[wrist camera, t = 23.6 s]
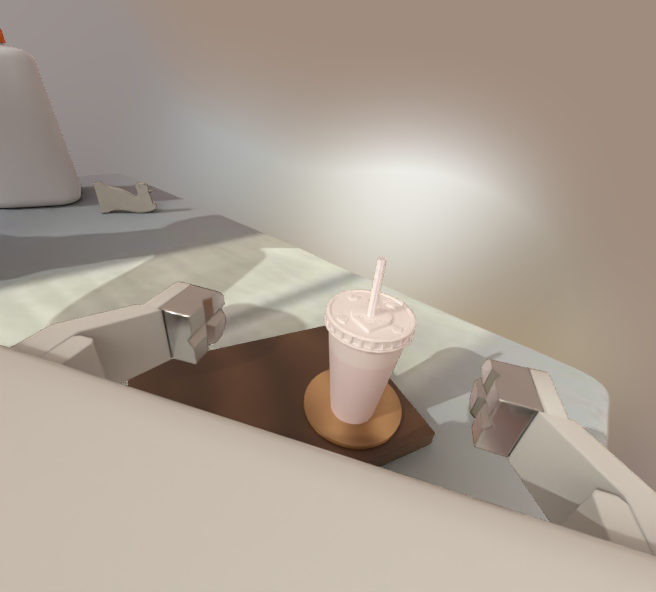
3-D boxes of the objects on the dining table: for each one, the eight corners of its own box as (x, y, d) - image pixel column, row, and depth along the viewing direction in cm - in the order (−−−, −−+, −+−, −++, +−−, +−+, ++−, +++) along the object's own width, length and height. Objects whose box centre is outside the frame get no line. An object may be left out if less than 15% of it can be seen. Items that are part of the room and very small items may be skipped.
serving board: (131, 578, 19) (123, 564, 18) (131, 379, 30) (127, 364, 29) (430, 444, 28) (436, 429, 27) (341, 331, 40) (343, 318, 39)
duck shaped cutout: (103, 211, 65) (159, 210, 68) (101, 213, 64) (159, 212, 67) (95, 181, 62) (154, 182, 65) (93, 183, 61) (153, 183, 64)
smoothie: (306, 429, 26) (322, 268, 18) (322, 371, 31) (339, 229, 24) (389, 447, 25) (440, 288, 18) (390, 385, 30) (430, 244, 23)
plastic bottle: (82, 186, 77) (39, 34, 62) (82, 205, 66) (30, 28, 52) (-5, 189, 69) (-78, 17, 55) (-21, 211, 59) (-115, 6, 44)
